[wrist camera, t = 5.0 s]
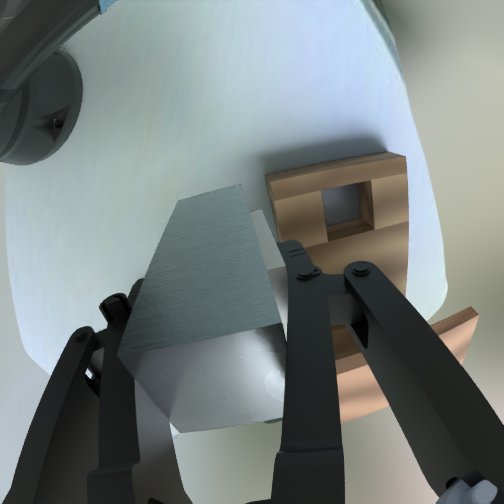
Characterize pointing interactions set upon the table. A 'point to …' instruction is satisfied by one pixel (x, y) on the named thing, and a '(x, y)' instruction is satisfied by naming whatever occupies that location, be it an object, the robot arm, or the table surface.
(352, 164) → the socket stand
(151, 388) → the peg
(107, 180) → the table surface
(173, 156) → the table surface
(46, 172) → the table surface
